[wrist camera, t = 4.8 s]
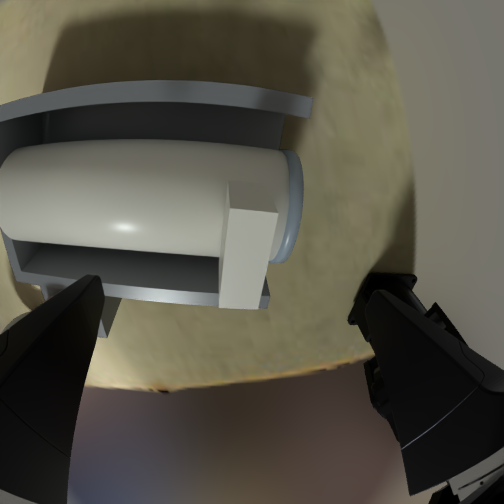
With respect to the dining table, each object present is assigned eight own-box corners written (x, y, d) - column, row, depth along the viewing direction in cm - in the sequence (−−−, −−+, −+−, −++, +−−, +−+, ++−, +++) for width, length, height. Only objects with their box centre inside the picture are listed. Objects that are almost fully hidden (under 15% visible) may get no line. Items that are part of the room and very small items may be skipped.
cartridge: (282, 142, 16) (341, 188, 8) (266, 230, 19) (296, 329, 11) (44, 136, 13) (-49, 180, 5) (51, 216, 16) (-18, 289, 8)
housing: (284, 98, 15) (313, 98, 10) (246, 307, 24) (253, 361, 19) (40, 99, 12) (-12, 109, 7) (64, 289, 21) (39, 333, 16)
